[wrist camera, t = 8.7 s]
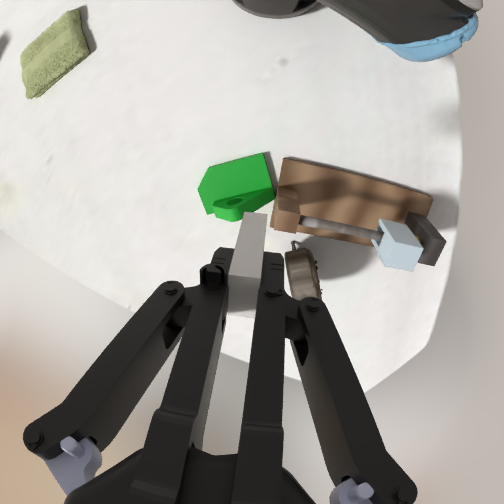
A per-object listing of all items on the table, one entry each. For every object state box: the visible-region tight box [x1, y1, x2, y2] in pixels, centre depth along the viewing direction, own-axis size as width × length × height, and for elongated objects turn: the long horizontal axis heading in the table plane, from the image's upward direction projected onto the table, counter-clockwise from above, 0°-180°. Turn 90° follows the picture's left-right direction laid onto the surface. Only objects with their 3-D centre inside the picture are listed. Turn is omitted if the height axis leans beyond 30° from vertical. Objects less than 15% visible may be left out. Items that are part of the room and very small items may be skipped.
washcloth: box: [20, 9, 89, 99], centre depth 32 cm, size 13×18×3 cm
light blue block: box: [371, 218, 424, 272], centre depth 38 cm, size 5×4×7 cm
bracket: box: [198, 153, 275, 222], centre depth 44 cm, size 12×8×7 cm, turn 106°
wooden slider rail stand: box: [270, 158, 446, 266], centre depth 42 cm, size 28×12×10 cm, turn 81°
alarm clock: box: [285, 241, 322, 301], centre depth 47 cm, size 11×5×16 cm, turn 15°
